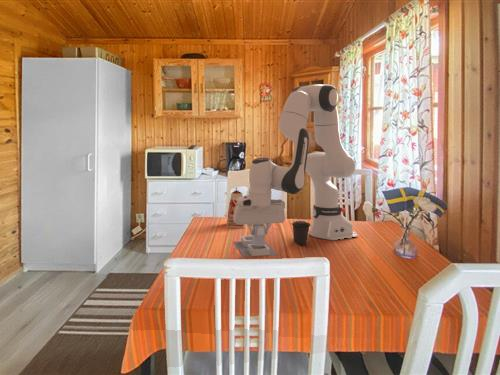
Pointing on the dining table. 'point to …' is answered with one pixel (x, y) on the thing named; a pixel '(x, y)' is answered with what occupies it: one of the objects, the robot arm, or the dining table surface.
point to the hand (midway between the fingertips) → (258, 234)
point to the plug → (258, 235)
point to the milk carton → (232, 205)
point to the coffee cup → (300, 232)
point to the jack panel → (253, 248)
